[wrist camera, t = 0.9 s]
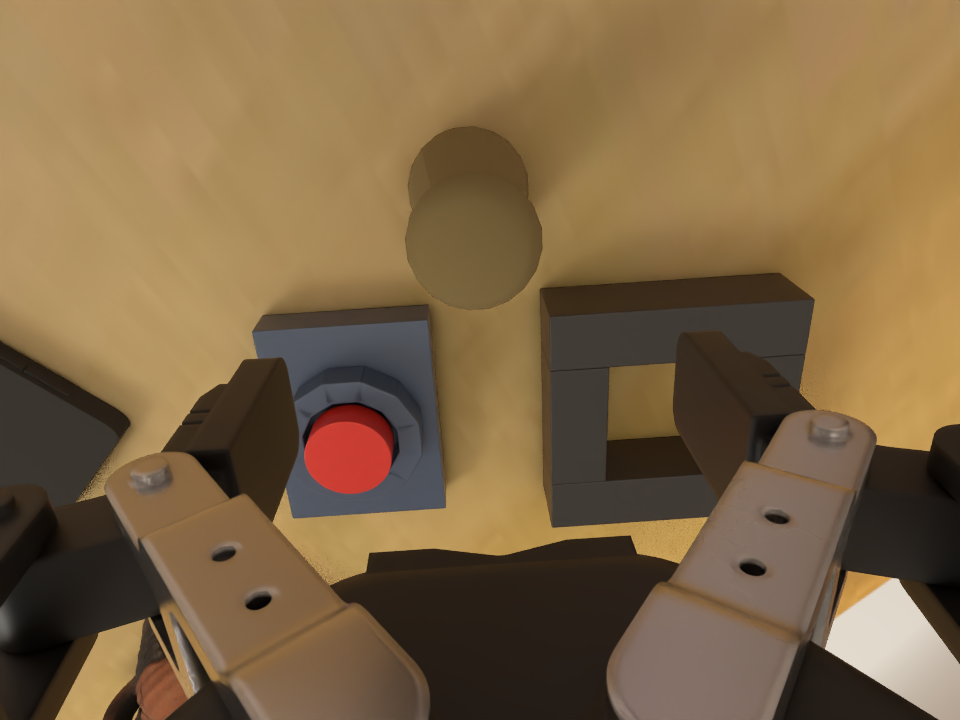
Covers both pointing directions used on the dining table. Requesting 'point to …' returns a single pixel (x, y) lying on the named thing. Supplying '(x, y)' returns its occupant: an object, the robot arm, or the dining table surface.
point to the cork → (471, 220)
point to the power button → (349, 449)
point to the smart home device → (51, 430)
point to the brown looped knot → (148, 685)
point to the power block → (363, 399)
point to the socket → (642, 341)
